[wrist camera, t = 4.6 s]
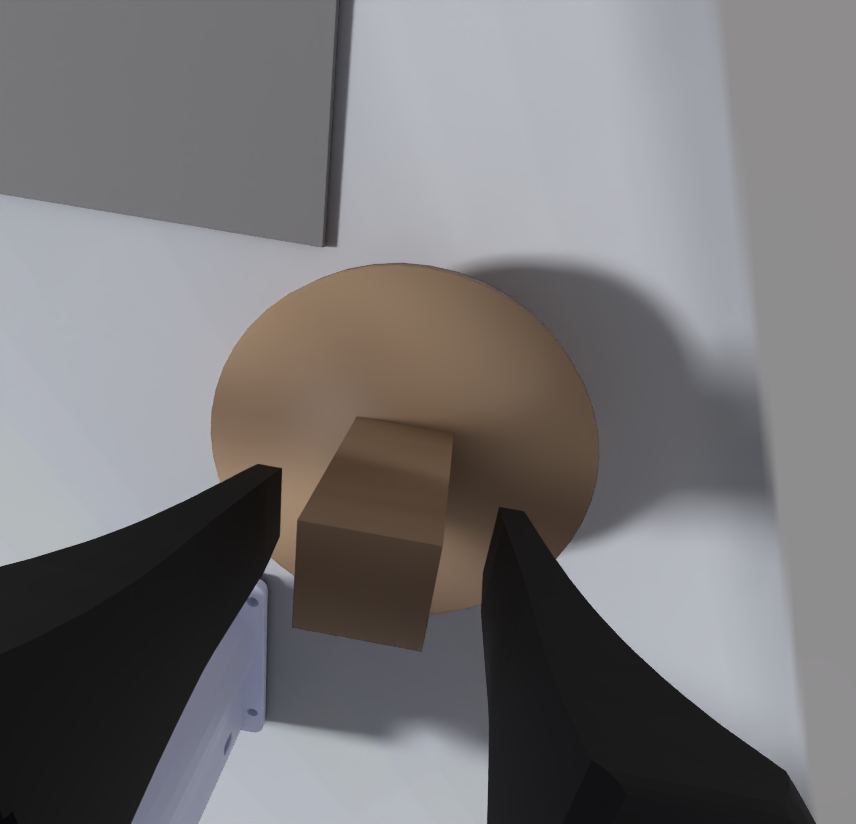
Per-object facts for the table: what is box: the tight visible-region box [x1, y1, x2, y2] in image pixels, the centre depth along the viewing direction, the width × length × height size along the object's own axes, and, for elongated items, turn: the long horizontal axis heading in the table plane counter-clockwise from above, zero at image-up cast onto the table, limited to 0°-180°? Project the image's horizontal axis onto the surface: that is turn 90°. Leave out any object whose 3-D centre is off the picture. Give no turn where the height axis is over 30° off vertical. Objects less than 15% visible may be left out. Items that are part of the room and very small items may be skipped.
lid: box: [211, 263, 599, 652], centre depth 11 cm, size 11×11×5 cm
